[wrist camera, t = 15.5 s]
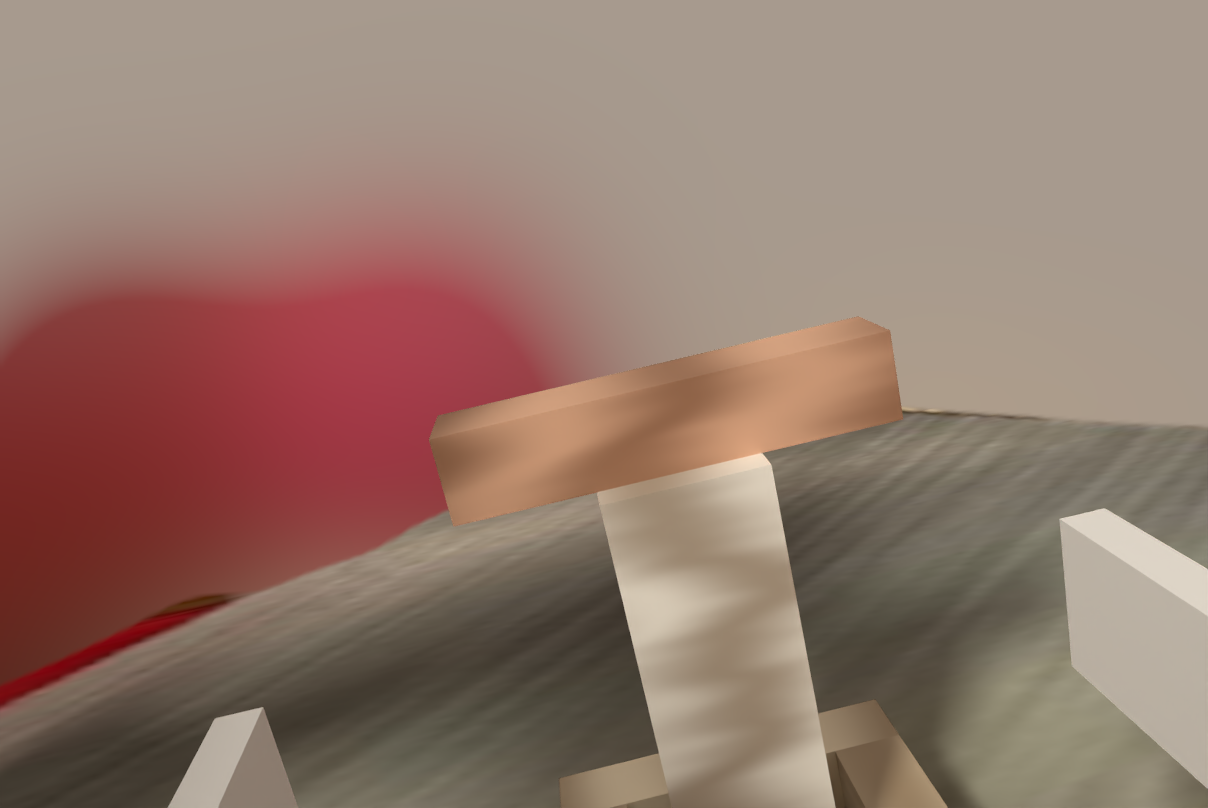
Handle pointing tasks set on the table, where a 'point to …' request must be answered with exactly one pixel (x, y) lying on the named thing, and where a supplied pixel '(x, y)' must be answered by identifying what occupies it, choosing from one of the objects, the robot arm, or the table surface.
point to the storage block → (854, 756)
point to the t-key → (694, 534)
